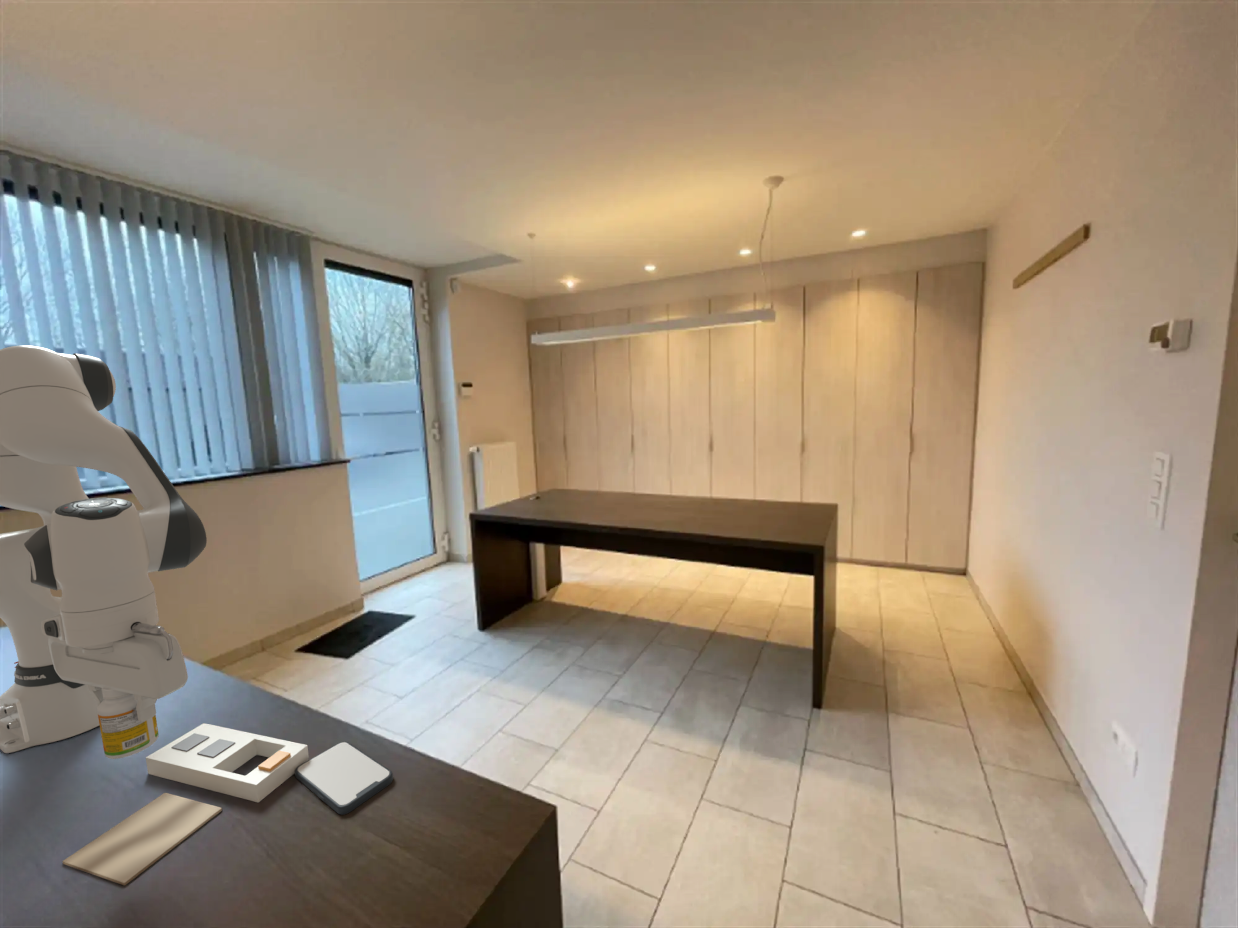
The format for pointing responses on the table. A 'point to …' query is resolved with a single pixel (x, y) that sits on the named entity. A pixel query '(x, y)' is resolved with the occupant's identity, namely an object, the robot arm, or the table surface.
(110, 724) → the supplement bottle
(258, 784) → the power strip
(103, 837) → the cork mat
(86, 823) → the table surface
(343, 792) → the phone case
